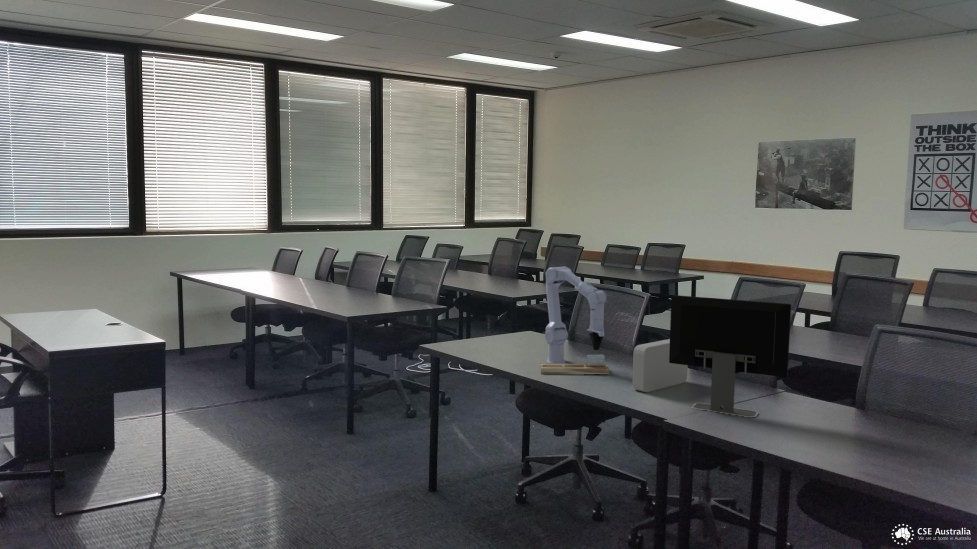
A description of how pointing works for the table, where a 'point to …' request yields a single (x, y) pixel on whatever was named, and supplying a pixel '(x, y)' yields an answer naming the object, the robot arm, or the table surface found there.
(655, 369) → the rounded white slab
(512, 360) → the table surface
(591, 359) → the brushed gray metal block
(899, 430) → the table surface
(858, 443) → the table surface
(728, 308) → the computer monitor
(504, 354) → the table surface
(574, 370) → the rack
